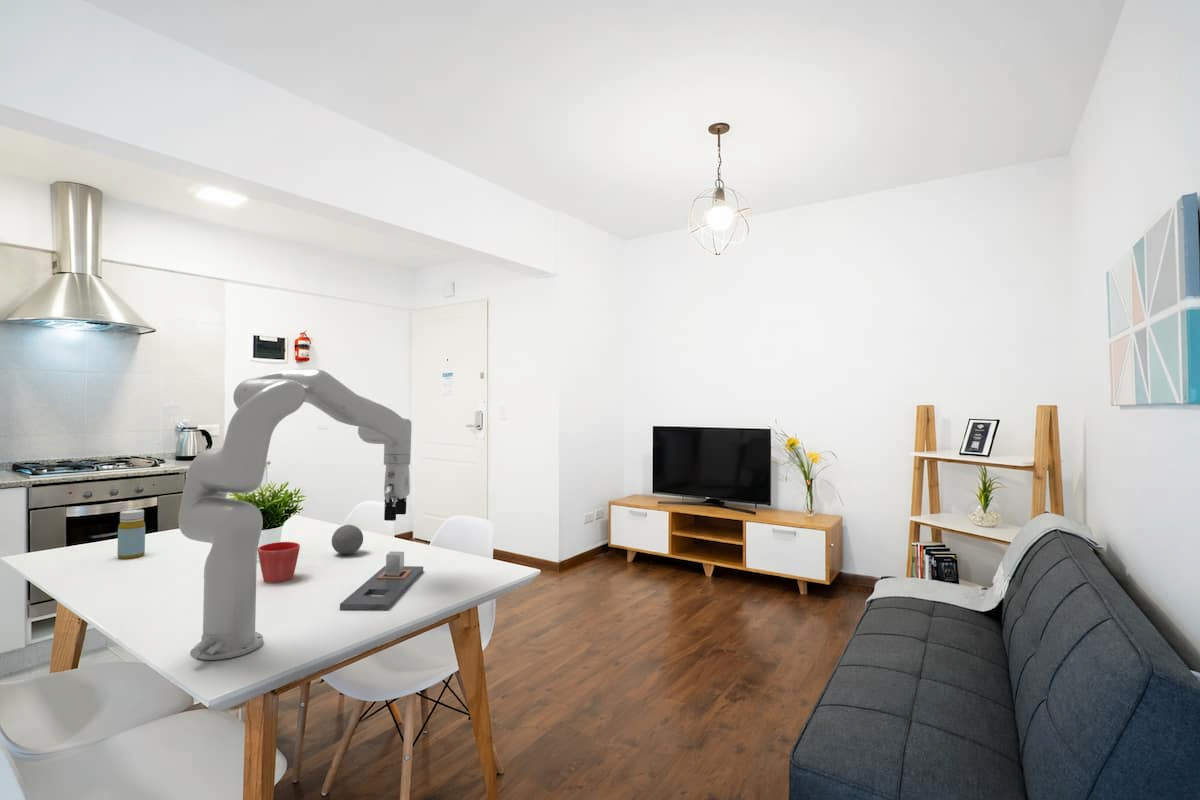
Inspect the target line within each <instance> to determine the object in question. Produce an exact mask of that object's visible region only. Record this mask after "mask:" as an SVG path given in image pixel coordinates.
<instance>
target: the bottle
mask: <svg viewBox="0 0 1200 800" xmlns="http://www.w3.org/2000/svg"><path fill="white" fill-rule="evenodd" d="M145 551H146V523H145V510H144V509H126V510H122V511H120V512H119V523H118V526H117V557H118V558H119V559H120V560H130V559H137V558H140V557H142V556H144V555H145Z"/></svg>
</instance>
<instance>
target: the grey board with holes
mask: <svg viewBox="0 0 1200 800" xmlns="http://www.w3.org/2000/svg"><path fill="white" fill-rule="evenodd" d="M423 572H424V566H423V565H422V566H421V565H420V566H418V565H417V566H416V565H415V566H414V565H413V566H411V565H408V566H407V565H404V575H403V576H402V577H386V565H384V566H383V567H382V568H381V569H380V570H378V571H377V572H376V573H375V574H374V575H373V576H371V577H369V579H367V580H366V581H365V582H364V583H363V584H362V585H360V587H358V588H357V589H355V591H354V592H352V593H351V594H350V595H349V596H347V597H346V598H345V599H344V600H343V601H342V602H340V603H339V611H388V610H389V609H390V608H392V606H393V605H394V604H395V603H396V602H397V600H399V599H400V597H401V596H402V595H403V594H404V593H405V592H406V591H407V590H408V589H409V588H410V586H411V585H412V584H413V583H414V582H415V581H416V580H417V579H418V578H419V576H420V575H421V574H422V573H423ZM369 594H374V595H369Z"/></svg>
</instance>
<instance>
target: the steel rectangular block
mask: <svg viewBox="0 0 1200 800" xmlns="http://www.w3.org/2000/svg"><path fill="white" fill-rule="evenodd" d="M385 566H386V577H402V576H403V575H404V566H405V551H389V552H388V553H387V554H386V555H385Z"/></svg>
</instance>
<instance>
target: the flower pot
mask: <svg viewBox="0 0 1200 800" xmlns="http://www.w3.org/2000/svg"><path fill="white" fill-rule="evenodd" d="M300 548H301V544H300V543H299V542H295V541H280V542H279V541H277V542H270V543H266V544H263V545H261V546H258V550H257V556H258V560H259V565H260V570H261V574H262V579H263V581H264V582H265V581H266V582H265V583H269V582H275V583H280V582H279V581H281V582H286V581H285V580H287V581H290V580H291V578H292V579H293V578H294V577H295V571H296V567H297V563H298V558H299V554H300V550H301V549H300ZM289 579H290V580H289Z"/></svg>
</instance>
